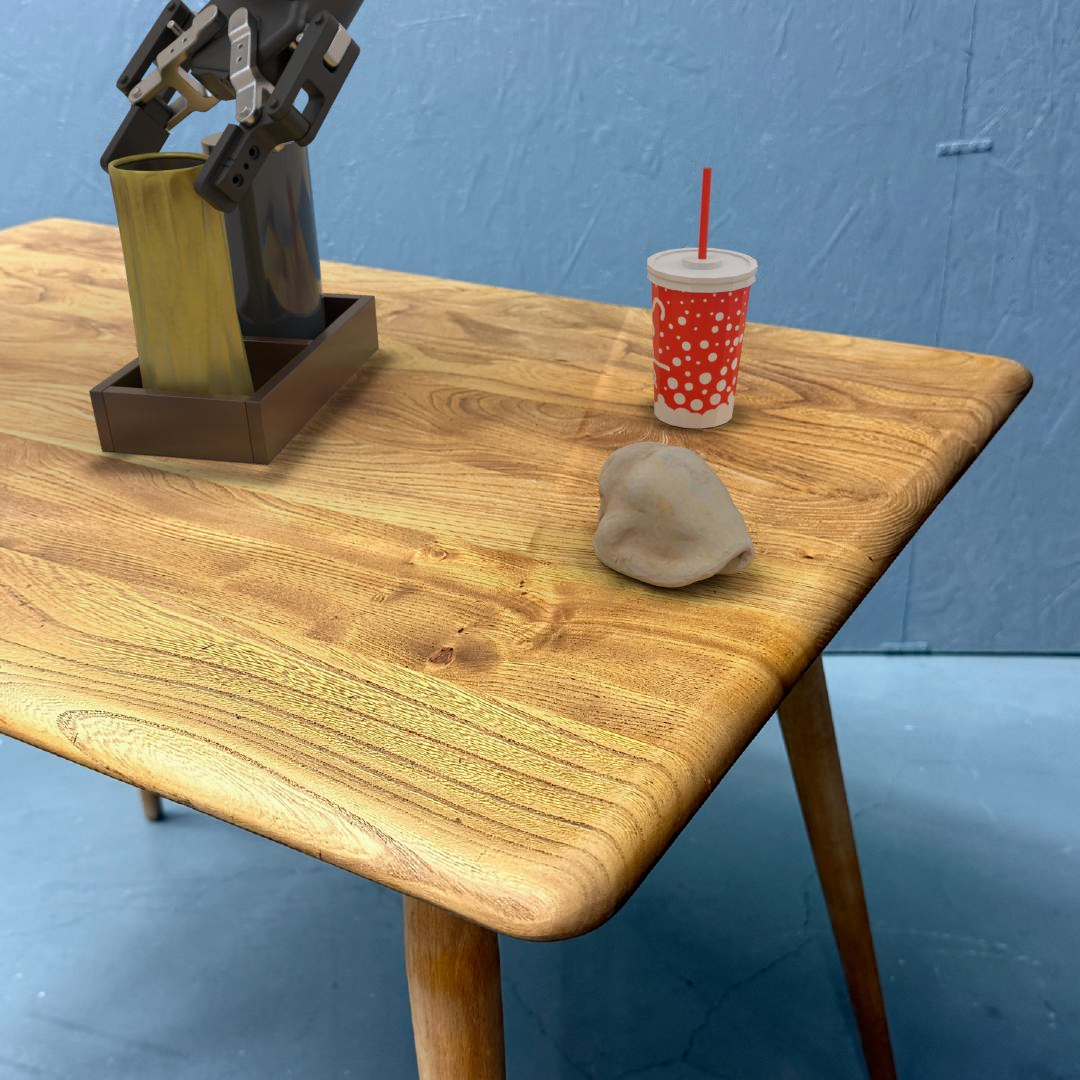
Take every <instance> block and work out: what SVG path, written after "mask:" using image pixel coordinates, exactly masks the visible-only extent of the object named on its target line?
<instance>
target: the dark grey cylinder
mask: <svg viewBox="0 0 1080 1080" xmlns="http://www.w3.org/2000/svg"><path fill="white" fill-rule="evenodd" d="M223 132H224V131H221V132H215V133H211V134H209V135H205V136H203V137H202V138H200V140H199V144H200V151H201V154H206V155H209V156H210V154H211V152H212V150H213V149H214V147H215V145H216V144H217V142H218V140H219V139H220V137H221V135H222V134H223ZM310 163H311V161H310V153H309V145H307V146H305V147H300V146H298V145H297V144H296V143H295V142H294V141H291V142H287V143H286V144H285V146H284V147H283V148H282V149H281V150H280V151H279V152H277V153H271V152H270V153H269V155H268V156H267V158H266V160H265V161H264V163H263V165H262V166H261V168H260V170H259V172H258V173H257V175H256V177H254V180H253V182H252V184H250V187H249V189H248V190H247V192H246V194H245V195H244V197H243V198H242V199H241V200H240V202H239V203H238V205H237V207H236V208H235V210H234V211H233V212H231V213H225V212H224V219H225V226H226V233H227V240H228V247H229V254H230V261H231V268H232V277H233V286H234V295H235V303H236V311H237V315H238V320H239V324H240V329H241V333H242V336H255V337H272V338H289V339H306V340H314V339H315V338H316V337H318V336H319V335H320V334H321V333H322V332H323V331H324V330H325V329H326V328H327V325H326V315H325V306H324V296H323V293H324V287H323V278H322V270H321V269H322V268H321V259H320V249H319V240H318V230H317V229H318V228H317V221H316V211H315V202H314V201H315V200H314V192H313V183H312V173H311V164H310Z"/></svg>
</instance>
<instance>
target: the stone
mask: <svg viewBox="0 0 1080 1080" xmlns="http://www.w3.org/2000/svg"><path fill="white" fill-rule="evenodd" d="M597 479H598V480H597V484H598V486H597V491H598V495H599V507H598V512H597V522H598V526H597V528H596V531H595V533H594V534H593V537H592V549H593V551H594V554H595V555H596V557H597V558H598V560H599V561H600V562H602V563H603V564H604V565H605V566H607V567H608V568H610V569H612V570H614V571H615V572H617V573H620V574H623V575H625V576H627V577H629V578H632V579H635V580H638V581H640V582H642V583H646V584H649V585H653V586H656V587H662V588H680V587H686V586H688V585H691V584H693V583H696V582H698V581H702V580H705V579H708V578H712V577H713V576H715V575H733V574H738V573H739V572H741V571H743V570H745V569H746V568H748V567H749V566H750V565H751V564H752V562H753V561H754V559H755V555H756V549H755V546H754V543H753V542H754V541H753V540H752V536H751V535H750V533H749V531H748V528H747V524H746V522H745V519H744V516H743V515H742V513H741V511H740V510H739V509H738V507H737V506H736V504H735V502H734V500H733V498H732V496H731V494H730V492H729V490H728V488H727V486H726V485H725V483H724V482H723V481H722V479H721V477H719V475H718V474H717V473H716V472H715V471H714V470H713V469H712V467H711V466H710V465H709V464H708V463H707V462H706V461H705V460H704V459H703V457H701V455H699V454H697V453H696V452H695V451H694V450H692V449H690V448H687V447H683V446H674V445H670V444H666V443H663V442H659V441H651V440H650V441H649V440H648V441H640V442H634V443H630V444H626V445H625V446H622V447H620V448H617V449H615V450H614V451H613V452H612V453H611V454H609V455H608V456H607V458H605V460H604V461H603V464H602V465H601V468H600V471H599V475H598V478H597Z"/></svg>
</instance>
